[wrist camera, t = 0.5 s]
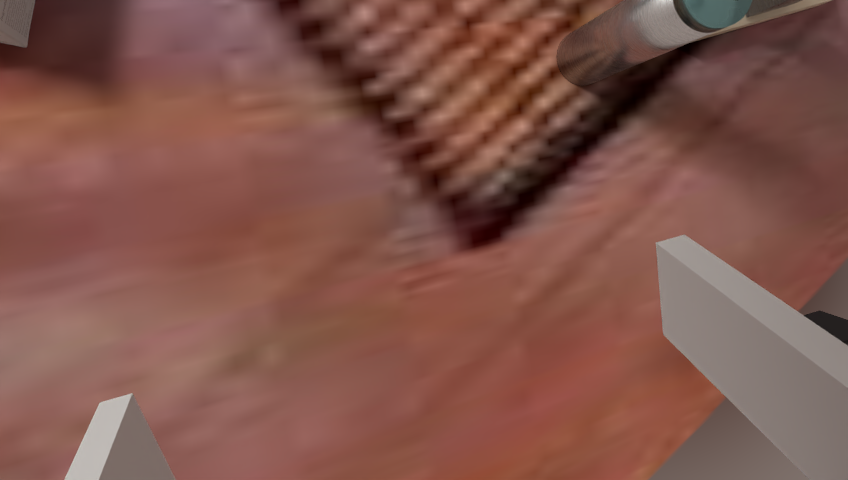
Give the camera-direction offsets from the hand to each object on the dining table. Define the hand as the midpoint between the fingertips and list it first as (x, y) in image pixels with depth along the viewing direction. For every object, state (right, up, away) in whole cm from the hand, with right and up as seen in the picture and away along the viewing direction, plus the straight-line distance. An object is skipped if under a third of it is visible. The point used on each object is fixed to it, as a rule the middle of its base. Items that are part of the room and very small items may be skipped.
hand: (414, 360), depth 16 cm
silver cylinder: (+11, +15, +28) cm, 33 cm away
